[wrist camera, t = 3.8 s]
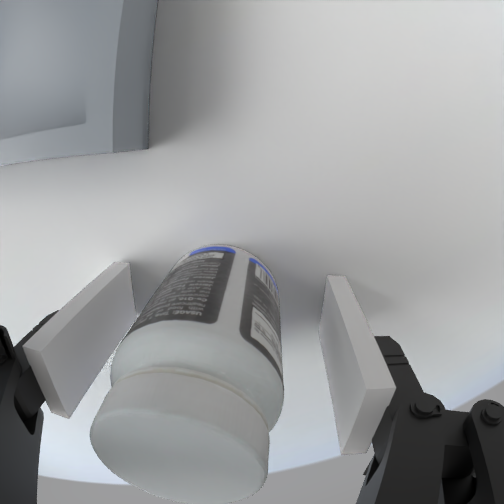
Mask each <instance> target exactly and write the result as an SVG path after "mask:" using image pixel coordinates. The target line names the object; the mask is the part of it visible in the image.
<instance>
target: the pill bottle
mask: <svg viewBox="0 0 504 504" xmlns="http://www.w3.org/2000/svg"><path fill="white" fill-rule="evenodd" d="M110 379H111V386H112V388H111V389H110V391H109V392H108V394H107V395H106V397H105V399H104V401H103V403H102V405H101V407H100V409H99V411H98V413H97V415H96V416H95V418H94V421H93V423H92V426H91V430H90V440H91V444H92V446H93V449H94V451H95V452H96V454H97V456H98V457H99V459H100V460H101V461H102V462H103V463H104V464H105V465H106V467H107V468H108V469H110V470H111V471H112V472H113V473H114V474H116V475H117V476H118V477H120V478H121V479H123V480H124V481H126V482H128V483H129V484H131V485H133V486H135V487H137V488H139V489H141V490H143V491H145V492H147V493H150V494H152V495H154V496H158V497H160V498H164V499H167V500H171V501H175V502H181V503H187V504H227V503H232V502H236V501H240V500H242V499H245V498H247V497H250V496H251V495H253V494H255V493H256V492H257V491H258V490H260V488H261V487H262V486H263V484H264V483H265V481H266V478H267V473H268V455H269V444H270V440H269V432H270V431H271V430H272V428H273V427H274V426H275V424H276V422H277V421H278V418H279V416H280V414H281V410H282V406H283V399H284V385H283V370H282V349H281V330H280V306H279V293H278V288H277V285H276V282H275V280H274V277H273V276H272V274H271V272H270V271H269V269H268V268H267V267H266V266H265V265H264V264H263V263H262V262H261V261H260V260H259V259H258V258H256V257H255V256H253V255H252V254H250V253H248V252H247V251H245V250H243V249H240V248H237V247H233V246H229V245H221V244H219V245H208V246H203V247H200V248H197V249H195V250H193V251H191V252H189V253H187V254H186V255H185V256H183V257H182V258H181V259H180V260H179V261H178V262H177V263H176V265H175V266H174V267H173V268H172V270H171V271H170V272H169V274H168V275H167V276H166V278H165V279H164V281H163V282H162V284H161V285H160V287H159V288H158V289H157V291H156V292H155V294H154V295H153V296H152V298H151V299H150V301H149V302H148V304H147V305H146V307H145V308H144V310H143V311H142V313H141V314H140V316H139V317H138V318H137V320H136V322H135V323H134V324H133V325H132V327H131V329H130V330H129V332H128V333H127V335H126V336H125V338H124V339H123V340H122V342H121V343H120V345H119V347H118V348H117V350H116V353H115V356H114V358H113V361H112V365H111V375H110Z"/></svg>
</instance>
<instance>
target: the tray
mask: <svg viewBox="0 0 504 504" xmlns="http://www.w3.org/2000/svg"><path fill="white" fill-rule="evenodd" d="M157 4H158V0H0V166H4V165H10V164H16V163H23V162H30V161H37V160H45V159H53V158H61V157H71V156H81V155H92V154H105V153H116V152H124V151H133V150H142V149H148V127H149V96H150V78H151V63H152V50H153V39H154V29H155V20H156V12H157Z"/></svg>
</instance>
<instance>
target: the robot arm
mask: <svg viewBox="0 0 504 504" xmlns="http://www.w3.org/2000/svg"><path fill="white" fill-rule="evenodd" d="M136 318H137V317H136V310H135V303H134V296H133V288H132V280H131V272H130V263H121V262H114V263H113V264H111V265H110V266H109V267H108V268H107V269H106V270H104V271H103V272H102V273H101V274H100V275H99V276H97V277H96V278H95V279H94V280H93V281H92V282H91V283H89V284H88V285H87V286H86V287H85V288H84V289H83V290H81V291H80V292H79V293H78V294H77V295H76V296H75V297H74V298H73V299H71V300H70V301H69V302H68V303H67V304H66V305H65V306H64V307H63V308H62V309H60V310H57V311H55V312H53V313H52V314H50V315H48V316H46V317H45V318H44V319H43V320H42V321H41V322H40V323H39V325H37V326H35V327H34V328H33V331H32V330H31V331H30V332H29V333H28V334H27V335H26V336H25V337H24V338H23V339H22V340H21V341H20V342H19V343H18V344H17V345H16V346H15V347H13V344H12V342H11V339H10V336H9V333H8V331H7V329H6V328H5V327H4V326H1V325H0V504H37V479H38V464H39V453H40V443H41V435H42V427H43V420H44V415H43V411H42V410H41V408H40V407H41V405H42V404H43V403H44V401H46V403H47V405H48V407H49V409H50V411H51V413H54V414H57V415H60V416H62V417H65V418H68V419H69V418H70V417H71V415H72V414H73V412H74V411H75V409H76V407H77V406H78V404H79V403H80V401H81V400H82V398H83V396H84V395H85V393H86V392H87V390H88V389H89V387H90V386H91V384H92V383H93V381H94V380H95V378H96V377H97V375H98V374H99V372H100V371H101V369H102V368H103V366H104V365H105V363H106V362H107V360H108V359H109V357H110V356H111V354H112V353H113V351H114V350H115V348H116V347H117V345H118V344H119V343H120V341H121V340H122V338H123V337H124V335H125V334H126V332H127V331H128V330H129V328H130V327H131V325H132V324H133V323H134V321H135V320H136ZM319 337H320V342H321V347H322V352H323V357H324V362H325V367H326V372H327V377H328V382H329V388H330V393H331V399H332V404H333V410H334V415H335V421H336V427H337V433H338V439H339V445H340V451H341V455H349V454H362V453H367V451H368V449H369V447H370V445H371V443H372V444H373V448H374V452H375V454H374V456H373V458H372V460H371V461H370V463H369V465H368V467H367V468H366V470H365V472H364V474H363V475H366V477H365V480H364V483H363V486H362V488H361V491H360V494H359V497H358V500H357V503H356V504H504V407H503V406H502V405H501V404H500V403H497V402H495V401H493V400H486V399H485V400H481V401H478V402H477V403H475V404H474V405H473V407H472V409H471V411H470V412H459V411H450V410H445V407H444V405H443V404H442V403H441V401H440V400H439V399H437V398H436V397H434V396H433V395H430V394H427V393H424V392H423V390H422V388H421V386H420V384H419V382H418V380H417V378H416V376H415V374H414V372H413V370H412V368H411V366H410V365H409V362H408V360H407V358H406V357H405V356H404V355H405V354H404V353H403V351H402V349H401V347H400V345H399V344H398V343H397V342H396V341H394V340H393V339H392V338H391V337H390V336H374V335H373V333H372V331H371V329H370V327H369V325H368V322H367V320H366V318H365V316H364V314H363V312H362V310H361V308H360V305H359V303H358V301H357V299H356V297H355V295H354V293H353V291H352V289H351V287H350V285H349V283H348V281H347V279H346V277H345V276H336V275H327V279H326V286H325V293H324V300H323V307H322V313H321V320H320V326H319Z"/></svg>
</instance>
